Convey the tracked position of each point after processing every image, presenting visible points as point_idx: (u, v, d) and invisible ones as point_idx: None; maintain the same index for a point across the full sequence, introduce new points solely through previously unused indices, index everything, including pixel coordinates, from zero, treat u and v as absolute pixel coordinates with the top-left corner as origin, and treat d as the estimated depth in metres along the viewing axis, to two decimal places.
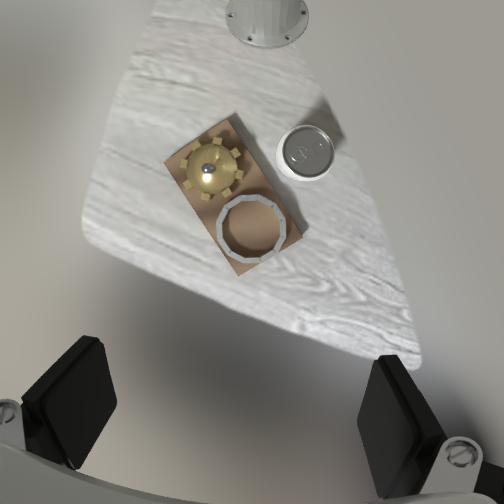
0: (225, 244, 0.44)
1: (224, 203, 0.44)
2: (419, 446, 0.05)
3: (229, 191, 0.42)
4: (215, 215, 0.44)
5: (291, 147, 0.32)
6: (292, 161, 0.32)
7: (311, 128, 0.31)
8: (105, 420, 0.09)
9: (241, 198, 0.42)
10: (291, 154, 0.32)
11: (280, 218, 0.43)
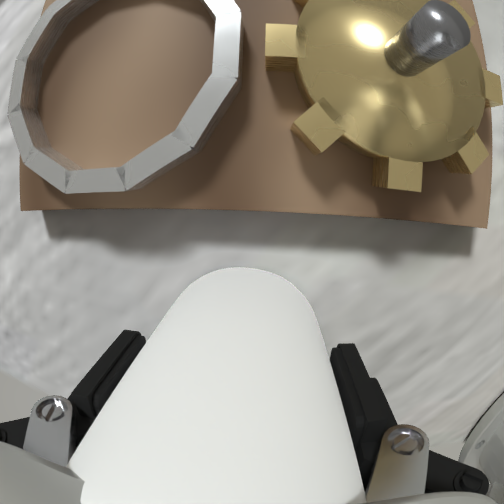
0: None
1: (249, 25, 0.09)
2: (363, 430, 0.06)
3: (279, 51, 0.08)
4: None
5: None
6: None
7: None
8: None
9: (222, 77, 0.08)
10: None
11: (74, 177, 0.09)
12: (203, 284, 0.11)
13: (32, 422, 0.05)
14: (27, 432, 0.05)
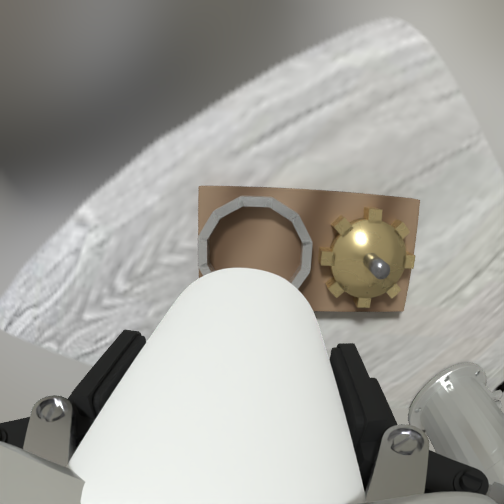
0: (257, 204, 0.25)
1: (313, 238, 0.27)
2: (363, 430, 0.06)
3: (325, 263, 0.26)
4: (305, 215, 0.26)
5: None
6: None
7: None
8: None
9: (304, 270, 0.26)
10: None
11: None
12: (203, 284, 0.11)
13: (32, 422, 0.05)
14: (27, 432, 0.05)
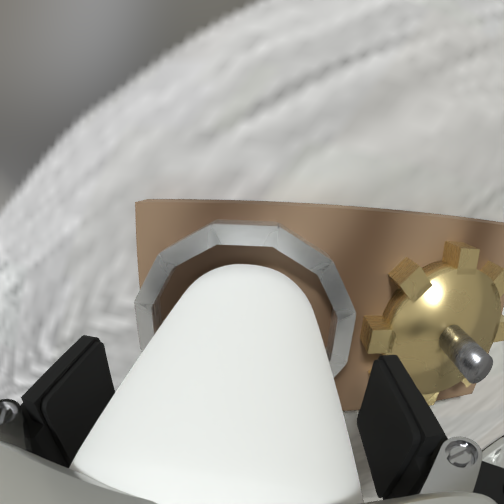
0: (247, 241, 0.12)
1: (354, 301, 0.14)
2: (419, 446, 0.05)
3: (376, 349, 0.13)
4: (342, 258, 0.13)
5: None
6: None
7: None
8: None
9: (337, 362, 0.13)
10: None
11: None
12: (208, 279, 0.12)
13: None
14: None
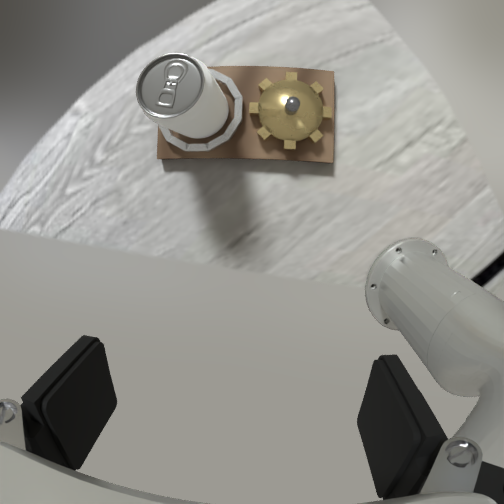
0: None
1: (245, 99, 0.32)
2: (419, 446, 0.05)
3: (253, 111, 0.31)
4: (238, 82, 0.31)
5: (187, 69, 0.21)
6: (171, 62, 0.21)
7: (193, 103, 0.21)
8: (105, 420, 0.09)
9: (237, 118, 0.31)
10: (179, 65, 0.21)
11: (189, 146, 0.32)
12: None
13: None
14: None
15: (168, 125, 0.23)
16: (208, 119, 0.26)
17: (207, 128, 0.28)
